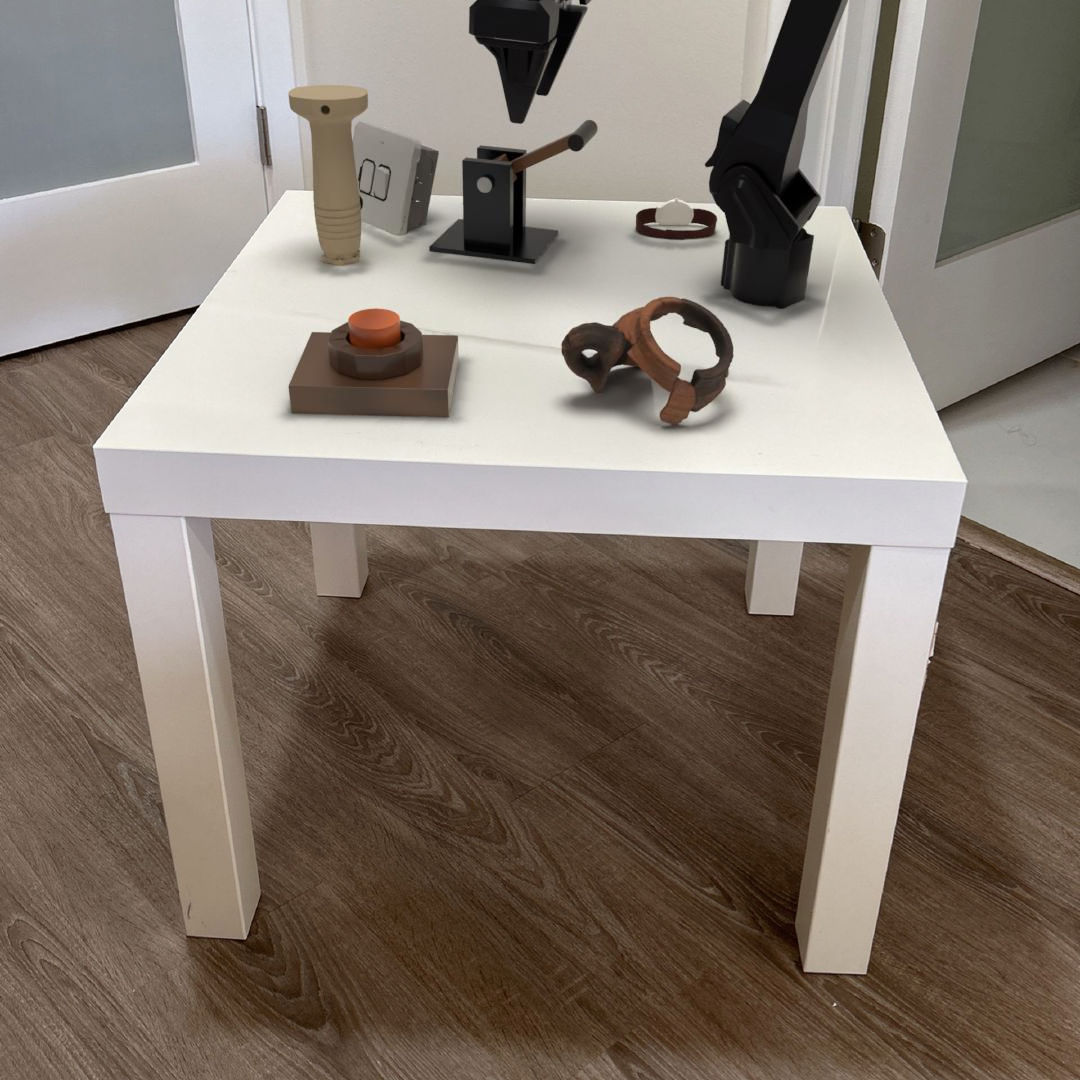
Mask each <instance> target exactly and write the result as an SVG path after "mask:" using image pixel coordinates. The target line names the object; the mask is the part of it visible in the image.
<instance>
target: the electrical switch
mask: <svg viewBox="0 0 1080 1080" xmlns="http://www.w3.org/2000/svg"><path fill="white" fill-rule="evenodd" d="M352 142H353V151H354V159H355V167H356V175H357V182H358V189H359V197H360V207H361V209H360V210H361V222H364V223H366V224H368V225H370V226H371V227H372V226H373V227H375V228H377V229H379V230H382V231H383V232H386V233H388V234H390V235H393V236H397V237H401V236H405V235H407V232H408V231H410V230H415V229H418V228H420V227H421V228H422V227H424V226H426V223H427V219H428V213H429V209H430V202H431V197H432V192H433V186H434V180H435V175H436V169H437V166H438V161H439V160H438V159H439V154H440V152H439V150H436V149H433V148H430V147H428V146H425V145H422V141H421V140H419V139H418V138H414V137H412V136H409V135H405V134H403V133H400V132H397V131H395V130H392V129H390V128H386V127H384V126H380V125H379V124H375V123H372V122H369V121H365V120H364V121H362V120H359V121H358V122H357V123H356V124H355V125H354V131H353V135H352Z"/></svg>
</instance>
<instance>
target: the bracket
mask: <svg viewBox="0 0 1080 1080" xmlns="http://www.w3.org/2000/svg"><path fill="white" fill-rule="evenodd" d="M527 153H528V151H527V149H523V148H522V149H521V148H513V147H512V148H510V147H502V146H492V145H481V144H480V145H479V146H478V147H477V148H476V157H475V158H474V157H467V156H466V157H464V159H462V160H461V168H462V171H461V172H462V214H463V217H462V218H457V220H455V222H453V223H452V224H451V225H450V226H449V227H448V228H447V229H446V230H445V231H444V232H443V233H442V234H441V235H440V236H439V237H438V238H437V239H435V241H433V243H432V244H431V245H430V246H428V251H429V252H432V253H433V252H434V253H440V254H448V255H457V256H465V257H473V258H479V259H480V258H482V259H489V260H496V261H505V262H513V263H520V264H530V265H536V264H537V262H538V261H539V260H540V259H541V257H543V255H544V254H545V253H546V251H547V250H549V248H550V246H551V245H552V244H553V243H554V242H555V240H556V239H557V238H558V237H559V235H560V231H559V229H557V230H556V229H549V228H540V227H533V226H532V227H531V226H526V225H527V168H526V169H524V170H522V171H519V172H517V173H515V175H516V177H517V179H516V180H515V181H514V182H513V162H510V161H512V160H514V159H516V158H518V157H521V156H523V155H525V154H527ZM504 154H506V156H507V158H508V160H509V162H505V161H496V160H493V159H495V158H497V157H499V156H501V155H504Z"/></svg>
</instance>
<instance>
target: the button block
mask: <svg viewBox="0 0 1080 1080" xmlns="http://www.w3.org/2000/svg"><path fill="white" fill-rule="evenodd" d="M400 330H401V342H400V343H398V344H397V345H395V346H393V347H388V348H383V349H362V348H359V347H355V346H352V345H351V344H350V334H349V322H348V321H346V322H345V323H342V324H341V325H339V326H337V327H336V328H333V329H332V330H331V331H330V332H329V331H328V332H326V331H311V333H310V335H309V338H308V340H307V341H306V345H305V348H304V349H303V352H302V354H301V356H300V358H299V360H298V362H297V365H296V367H295V370H294V372H293V375H292V377H291V379H290V381H289V384H288V395H289V403H290V412H291V413H290V414H293V415H294V414H295V415H296V414H297V415H298V414H299V415H301V414H302V415H332V416H333V415H338V416H372V417H373V416H375V417H376V416H378V417H412V418H413V417H416V418H418V417H420V418H449V417H450V413H451V408H452V402H453V396H454V391H455V384H456V380H457V373H458V367H459V359H460V358H459V336H458V335H457V334H456V335H455V334H454V335H453V334H451V335H450V334H423V333H422V331H420V329H419V328H417V327H416V326H415V325H414V324H413V323H411V322H407V321H404V320H401V319H400Z"/></svg>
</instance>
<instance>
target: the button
mask: <svg viewBox="0 0 1080 1080" xmlns="http://www.w3.org/2000/svg"><path fill="white" fill-rule="evenodd" d="M347 320H348V321H347V322H349V334H350V344H351V345H352V346H355V347H359V348H362V349H383V348H388V347H393V346H395V345H397V344H398V343H400V342H401V330H400V320H401V317H400V315H399V313H397V312H395V311H393V310H390V309H385V308H366V309H361V310H357V311H355V312H353V313H351V314H350V315H349V317H348V319H347Z"/></svg>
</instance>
